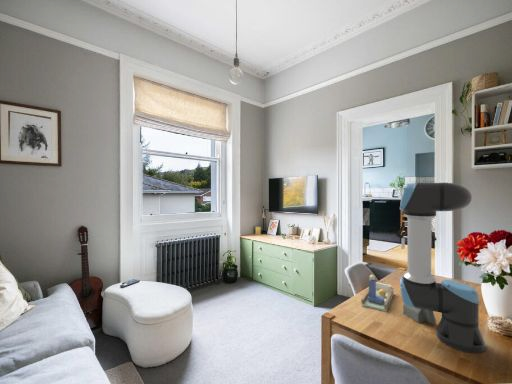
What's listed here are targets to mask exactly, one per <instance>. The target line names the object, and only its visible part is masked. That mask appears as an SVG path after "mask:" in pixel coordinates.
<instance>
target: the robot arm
mask: <svg viewBox="0 0 512 384" xmlns="http://www.w3.org/2000/svg"><path fill="white" fill-rule="evenodd" d="M472 198H473V197H472V193H471V191H470V190H469V189H468V188H467V187H465V186H463V185H460V184H457V183H453V182H412V183H406V184H404V185H403V187H402V191H401V197H400V206H399V210H400V211H403V215H404V217H405V218H407V222H406V221H402V222H401V226H400V228H399V229H398V232H397V234H396V237H398V238H399V243H400V244H401V249H402V250H404V249H405V246H406V245H405V244H406V243H405V241H406V240H405V238H406V237H405V236H406V235H407V271H406V272H404V273H403V277H399V284H400V285H399V286H400V293H401V299H402V302H403V305H404V304H405V305H407V306H410V307H414V308H419V309H424V310H430V311H433V312H437V313H440V314H441V317H440V320H439V323H438V324H437V325H438V326H437V328H436V337H437V339H438V340H439V341H441V342H442V343H443V344H445V345H446V346H449V347H450V348H453V349H455V350H458V351H461V352H465V353H472V354H473V353H474V354H480V353H483V352H485V350H486V349H485V347H486V346H485V345H486V344H485V340H484V338H483V335H482V333H481V332H482V331H481V330H480V326H479V324H480V323H479V322H480V320H479V312H480V311H479V310H480V309H479V307H480V306H479V304H480V299H479V293H478V291H477V290H476V289H475V288H474V287H473V286H470V285H468V284H465V283H463V282H460V281H458V280H457V281H456V280H452V279H442V280H441V281H440V283H439V282H436V278H435V277H434V276H433V275H432V247H433V242H437V237H436V236H435V233H434V232H433V230H432V229H433V228H432V227H433V226H432V225H433V223H432V220H433V219H434V218H435V217H436V216H437V212H453V211H454V212H455V211H458V210H462V209H464V208H466V207H468V206H469V205H470V204H471V202H472ZM405 227H407V228H406V229H405ZM404 229H405V231H404Z"/></svg>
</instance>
